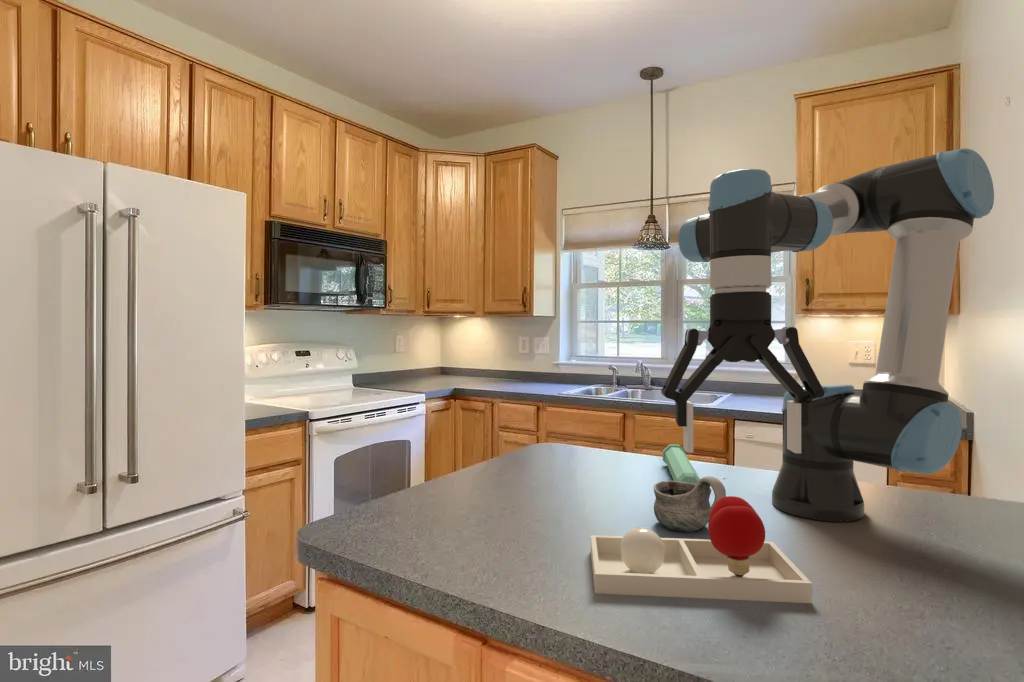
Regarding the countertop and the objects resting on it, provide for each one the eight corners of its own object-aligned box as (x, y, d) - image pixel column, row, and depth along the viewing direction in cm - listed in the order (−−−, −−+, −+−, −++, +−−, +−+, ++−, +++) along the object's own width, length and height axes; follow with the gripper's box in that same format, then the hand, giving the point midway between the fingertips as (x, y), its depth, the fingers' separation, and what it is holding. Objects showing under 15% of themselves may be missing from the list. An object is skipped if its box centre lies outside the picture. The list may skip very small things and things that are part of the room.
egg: (660, 563, 78) (661, 521, 78) (668, 583, 72) (668, 537, 72) (617, 562, 78) (617, 520, 78) (622, 581, 72) (622, 536, 72)
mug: (671, 515, 100) (671, 460, 100) (740, 533, 91) (740, 473, 91) (642, 529, 93) (642, 470, 93) (713, 550, 84) (714, 485, 84)
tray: (772, 562, 80) (772, 541, 79) (811, 607, 67) (812, 583, 67) (590, 555, 82) (590, 535, 82) (594, 597, 69) (594, 574, 69)
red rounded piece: (777, 592, 68) (771, 513, 68) (718, 592, 70) (712, 513, 70) (758, 561, 78) (753, 490, 77) (706, 560, 79) (701, 491, 79)
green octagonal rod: (698, 467, 110) (681, 440, 135) (670, 477, 111) (658, 448, 136) (710, 495, 110) (690, 462, 135) (681, 504, 111) (667, 470, 136)
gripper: (825, 290, 75) (825, 444, 76) (640, 295, 78) (641, 444, 79) (854, 287, 68) (854, 458, 69) (647, 292, 70) (649, 456, 71)
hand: (740, 451), depth 74 cm, fingers open, 13 cm apart
